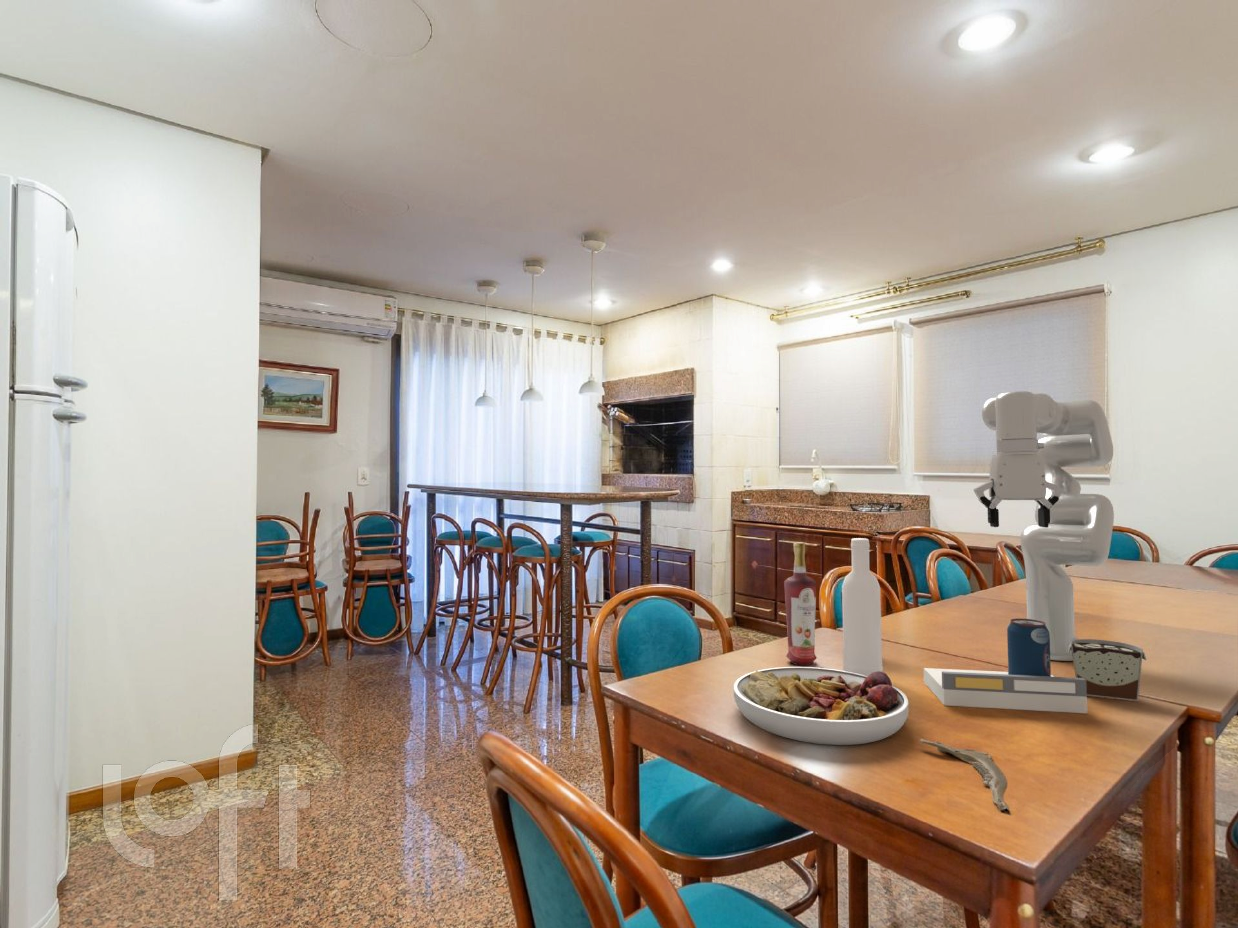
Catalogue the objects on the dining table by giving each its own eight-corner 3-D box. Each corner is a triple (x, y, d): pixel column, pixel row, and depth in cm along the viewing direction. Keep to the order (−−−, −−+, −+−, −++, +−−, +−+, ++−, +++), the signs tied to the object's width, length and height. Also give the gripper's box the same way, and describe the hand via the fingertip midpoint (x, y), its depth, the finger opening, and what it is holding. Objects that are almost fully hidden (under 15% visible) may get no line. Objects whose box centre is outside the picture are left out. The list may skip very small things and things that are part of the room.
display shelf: (1050, 688, 128) (1049, 658, 128) (1088, 714, 114) (1087, 680, 114) (923, 682, 133) (923, 653, 133) (945, 706, 119) (944, 673, 119)
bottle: (853, 670, 142) (850, 536, 143) (888, 677, 136) (885, 538, 137) (836, 678, 136) (834, 539, 137) (873, 686, 131) (869, 541, 132)
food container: (1137, 692, 126) (1135, 641, 126) (1147, 702, 120) (1146, 649, 120) (1062, 684, 131) (1061, 636, 131) (1069, 693, 125) (1068, 642, 126)
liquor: (795, 667, 144) (793, 545, 145) (779, 659, 151) (777, 542, 152) (823, 665, 146) (821, 544, 147) (807, 657, 153) (805, 541, 154)
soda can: (1057, 690, 118) (1055, 626, 118) (1016, 688, 120) (1014, 624, 120) (1042, 679, 125) (1040, 618, 125) (1003, 677, 126) (1001, 617, 127)
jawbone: (971, 751, 101) (972, 739, 101) (1071, 822, 81) (1072, 806, 81) (917, 749, 100) (918, 736, 101) (1003, 819, 80) (1004, 803, 80)
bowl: (772, 760, 97) (771, 708, 97) (713, 695, 127) (712, 656, 127) (948, 746, 102) (947, 696, 102) (851, 687, 131) (851, 649, 132)
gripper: (1052, 448, 140) (1054, 525, 139) (967, 450, 143) (969, 525, 143) (1069, 446, 133) (1071, 528, 132) (979, 448, 136) (981, 527, 136)
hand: (1018, 526), depth 137 cm, fingers open, 9 cm apart
